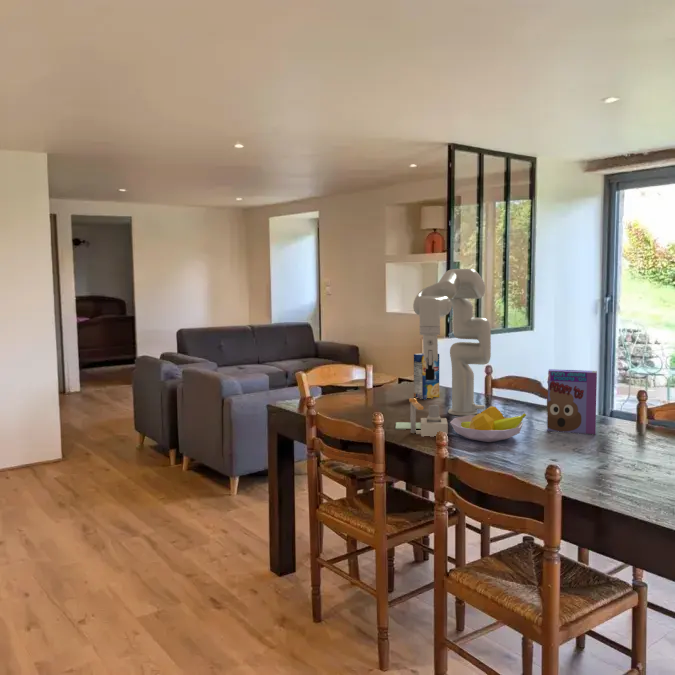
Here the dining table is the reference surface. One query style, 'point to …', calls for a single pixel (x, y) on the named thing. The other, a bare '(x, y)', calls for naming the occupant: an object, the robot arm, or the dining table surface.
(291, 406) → the dining table surface
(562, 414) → the cereal box
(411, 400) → the bar
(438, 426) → the socket block
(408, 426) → the mat
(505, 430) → the fruit bowl
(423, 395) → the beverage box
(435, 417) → the plug
